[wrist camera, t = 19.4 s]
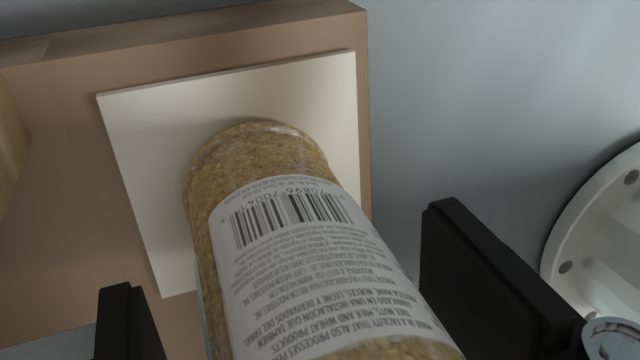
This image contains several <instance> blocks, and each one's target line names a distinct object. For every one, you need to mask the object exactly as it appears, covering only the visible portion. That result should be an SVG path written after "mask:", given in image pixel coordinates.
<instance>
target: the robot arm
mask: <svg viewBox="0 0 640 360" xmlns="http://www.w3.org/2000/svg"><path fill="white" fill-rule="evenodd" d="M419 292H420V294H421V295H422V297H423V298H424V299H425V301H426V302H427V304H428V305H429V307H430V308H431V309H432V311H433V312H434V314H435V315H436V317H437V318H438V320H439V321H440V322H441V324H442V325H443V327H444V328H445V330H446V331H447V332H448V334H449V335H450V337H451V338H452V340H453V341H454V343H455V344H456V345H457V347H458V348H459V350H460V351H461V353H462V354H463V355H464V357H465V359H466V360H640V142H638V143H636V144H635V145H633V146H631V147H630V148H628V149H626V150H625V151H623V152H622V153H620V154H618V155H617V156H616V157H614V158H613V159H612V160H611V161H609V162H608V163H607V164H606V165H604V166H603V167H602V168H601V169H599V170H598V171H597V172H596V173H595V174H594V175H593V176H592V177H591V178H590V179H589V180H588V181H587V182H586V183H585V184H584V185H583V186H582V187H581V188H580V189H579V191H578V192H577V193H576V195H575V196H574V197H573V198H572V200H571V201H570V202H569V203H568V205H567V206H566V207H565V209H564V210H563V212H562V214H561V215H560V217H559V219H558V220H557V222H556V223H555V225H554V227H553V229H552V231H551V233H550V236H549V238H548V240H547V243H546V245H545V248H544V252H543V256H542V260H541V264H540V276H539V275H538V274H537V273H536V272H535V271H534V270H533V269H532V268H531V267H530V266H529V265H528V264H526V263H525V262H524V261H523V260H522V259H521V258H520V257H519V256H518V255H517V254H516V253H515V252H514V251H513V250H512V249H511V248H510V247H509V246H507V245H506V244H504V243H503V242H501V241H500V240H499V239H498V238H497V237H496V236H495V235H494V234H493V233H492V232H491V231H490V230H489V229H488V228H487V227H486V226H485V225H484V224H483V223H482V222H481V221H480V220H478V219H477V218H476V217H475V216H474V215H473V214H472V213H471V212H470V211H469V210H468V209H467V208H466V207H465V206H464V205H463V204H462V203H461V202H460V201H459V200H458V199H456V198H455V197H449V198H445V199H441V200H438V201H434V202H431V203H429V205H428V209H427V210H424V211H423V213H422V229H421V254H420V278H419ZM90 360H168V359H167V357H166V354H165V351H164V348H163V345H162V342H161V340H160V337H159V334H158V331H157V328H156V325H155V323H154V320H153V317H152V314H151V311H150V308H149V306H148V303H147V300H146V297H145V294H144V291H143V289H142V287H141V285H139V286H135V287H132V286H131V284H130V282H129V281H127V282H123V283H119V284H115V285H111V286H107V287H103V288H100V290H99V295H98V308H97V321H96V335H95V348H94V359H90Z"/></svg>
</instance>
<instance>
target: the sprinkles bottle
mask: <svg viewBox="0 0 640 360" xmlns="http://www.w3.org/2000/svg"><path fill="white" fill-rule="evenodd" d="M182 204H183V206H184V211H185V214H186V219H187V222H188V223H189V225H190V229H191V233H192V241H193V245H194V252H195V258H194V273H195V279H196V286H197V293H198V300H199V307H200V313H201V319H202V325H203V332H204V338H205V345H206V351H207V357H208V360H466V359H465V357H464V355H463V354H462V353H461V351H460V350H459V348H458V347H457V345H456V344H455V343H454V341H453V340H452V338H451V337H450V335H449V334H448V332H447V331H446V330H445V328H444V327H443V325H442V324H441V322H440V321H439V320H438V318H437V317H436V315H435V314H434V312H433V311H432V309H431V308H430V307H429V305H428V304H427V302H426V301H425V299H424V298H423V297H422V295H421V294H420V292H419V291H418V289H417V288H416V286H415V285H414V284H413V282H412V281H411V279H410V278H409V276H408V275H407V274H406V272H405V271H404V269H403V268H402V266H401V265H400V264H399V262H398V261H397V259H396V258H395V256H394V255H393V254H392V252H391V251H390V249H389V248H388V246H387V245H386V244H385V242H384V241H383V239H382V238H381V236H380V235H379V233H378V232H377V231H376V229H375V228H374V226H373V225H372V223H371V222H370V220H369V219H368V218H367V216H366V215H365V213H364V212H363V211H362V209H361V208H360V206H359V205H358V204H357V202H356V201H355V200H354V198H353V197H352V196H351V195H350V194H349V193H348V192H346V191H345V190H344V189H343V187H342V186H341V184H340V183H339V181H338V180H337V178H336V177H335V175H334V174H333V172H332V171H331V169H330V167H329V163H328V160H327V158H326V156H325V154H324V153H323V151H322V150H321V149H320V148H319V146H318V144H317V143H316V142H315V141H314V140H313V139H312V138H311V137H310V136H308V135H307V134H306V133H304V132H303V131H300V130H299V129H297V128H295V127H293V126H290V125H288V124H285V123H279V122H271V121H260V122H256V123H255V122H248V123H244V124H241V125H238V126H235V127H232V128H230V129H227V130H224V131H222V132H221V133H219V134H217V135H216V136H215V137H214V138H212V139H211V140H209V141H208V142H207V143H206V144H205V145H204V146H203V147H202V148H201V149H200V150H199V151H198V152H197V154H196V156H195V157H194V158H193V160H192V161H191V163H190V165H189V166H188V168H187V169H186V172H185V174H184V178H183V185H182Z"/></svg>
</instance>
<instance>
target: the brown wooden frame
mask: <svg viewBox="0 0 640 360" xmlns="http://www.w3.org/2000/svg"><path fill="white" fill-rule="evenodd" d="M260 121H271V122H279V123H285V124H288V125H290V126H293V127H295V128H297V129H299V130H300V131H303V132H304V133H306V134H307V135H308V136H310V137H311V138H312V139H313V140H314V141H315V142H316V143H317V144H318V146H319V148H320V149H321V150H322V151H323V153H324V154H325V156H326V158H327V160H328V163H329V167H330V169H331V171H332V172H333V174H334V175H335V177H336V178H337V180H338V181H339V183H340V184H341V186H342V187H343V189H344V190H345V191H346V192H348V193H349V194H350V195H351V196H352V197H353V198H354V200H355V201H356V202H357V204H358V205H359V206H360V208H361V209H362V211H363V212H364V213H365V215H366V216H367V218H368V219H369V220H370V222H371V223H372V212H371V171H370V129H369V88H368V47H367V10H365V9H363V8H361V7H359V6H357V5H355V4H353V3H351V2H350V1H348V0H273V1H266V2H259V3H252V4H245V5H238V6H232V7H225V8H218V9H211V10H204V11H197V12H191V13H184V14H177V15H170V16H163V17H157V18H150V19H143V20H136V21H129V22H122V23H116V24H109V25H102V26H95V27H88V28H82V29H75V30H68V31H61V32H54V33H47V34H41V35H34V36H27V37H20V38H13V39H6V40H0V349H2V348H6V347H10V346H13V345H17V344H21V343H24V342H28V341H31V340H35V339H39V338H42V337H46V336H50V335H53V334H57V333H61V332H64V331H68V330H71V329H75V328H79V327H82V326H86V325H90V324H93V323H96V321H97V308H98V295H99V290H100V288H103V287H107V286H111V285H115V284H119V283H123V282H127V281H129V282H130V284H131V286H132V287H135V286H139V285H141V287H142V289H143V291H144V294H145V297H146V300H147V303H148V306H149V308H150V311H151V314H152V317H153V320H154V323H155V325H156V328H157V331H158V334H159V337H160V340H161V342H162V345H163V348H164V351H165V354H166V357H167V359H168V360H208V357H207V351H206V345H205V338H204V332H203V325H202V319H201V313H200V307H199V300H198V293H197V286H196V279H195V273H194V258H195V252H194V245H193V241H192V233H191V229H190V225H189V223H188V222H187V219H186V214H185V211H184V206H183V204H182V185H183V178H184V174H185V172H186V169H187V168H188V166H189V165H190V163H191V161H192V160H193V158H194V157H195V156H196V154H197V152H198V151H199V150H200V149H201V148H202V147H203V146H204V145H205V144H206V143H207V142H208V141H209V140H211V139H212V138H214V137H215V136H216V135H217V134H219V133H221V132H222V131H224V130H227V129H230V128H232V127H235V126H238V125H241V124H244V123H248V122H255V123H256V122H260Z"/></svg>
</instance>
